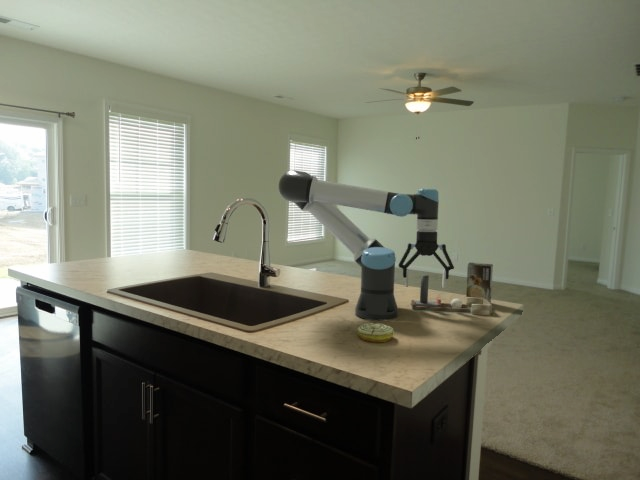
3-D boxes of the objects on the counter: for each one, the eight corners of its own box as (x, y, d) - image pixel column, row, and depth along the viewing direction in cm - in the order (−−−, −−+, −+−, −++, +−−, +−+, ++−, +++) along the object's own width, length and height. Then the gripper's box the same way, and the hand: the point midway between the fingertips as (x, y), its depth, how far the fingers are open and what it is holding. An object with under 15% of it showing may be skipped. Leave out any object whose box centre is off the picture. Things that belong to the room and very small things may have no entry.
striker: (415, 307, 170) (417, 276, 168) (415, 304, 174) (416, 274, 173) (440, 309, 168) (442, 277, 167) (439, 306, 173) (440, 275, 172)
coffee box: (491, 303, 181) (494, 264, 180) (489, 307, 176) (492, 266, 174) (467, 300, 185) (470, 262, 184) (465, 304, 180) (467, 264, 178)
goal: (471, 314, 164) (472, 304, 163) (465, 305, 175) (466, 297, 175) (491, 315, 163) (492, 305, 162) (484, 306, 174) (485, 298, 174)
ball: (451, 310, 168) (452, 299, 168) (449, 307, 172) (450, 297, 172) (462, 310, 168) (463, 300, 167) (460, 308, 172) (461, 297, 171)
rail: (412, 309, 168) (412, 304, 168) (411, 304, 176) (411, 299, 176) (470, 312, 166) (470, 307, 165) (466, 307, 173) (466, 302, 173)
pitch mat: (412, 311, 167) (412, 310, 167) (410, 304, 178) (410, 303, 178) (491, 315, 163) (491, 314, 163) (484, 307, 174) (484, 307, 174)
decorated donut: (379, 331, 143) (379, 319, 142) (400, 341, 133) (400, 328, 133) (351, 335, 138) (351, 323, 138) (370, 346, 128) (371, 333, 128)
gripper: (393, 230, 167) (391, 287, 169) (463, 232, 163) (461, 290, 165) (392, 229, 174) (391, 283, 176) (459, 230, 171) (457, 286, 173)
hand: (425, 286), depth 171 cm, fingers open, 13 cm apart
